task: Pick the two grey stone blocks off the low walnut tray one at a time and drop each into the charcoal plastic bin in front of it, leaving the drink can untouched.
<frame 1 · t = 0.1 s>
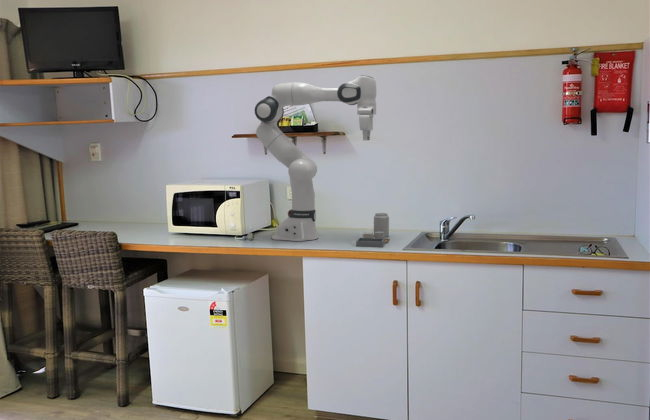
hand: (366, 140, 293), 48 cm above the counter, tool pointing down, fingers open, 8 cm apart
can: (381, 237, 308), on the counter
stone b: (379, 240, 296), resting on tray
bin: (370, 246, 283), on the counter
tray: (373, 242, 295), on the counter
stone a: (367, 241, 293), resting on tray
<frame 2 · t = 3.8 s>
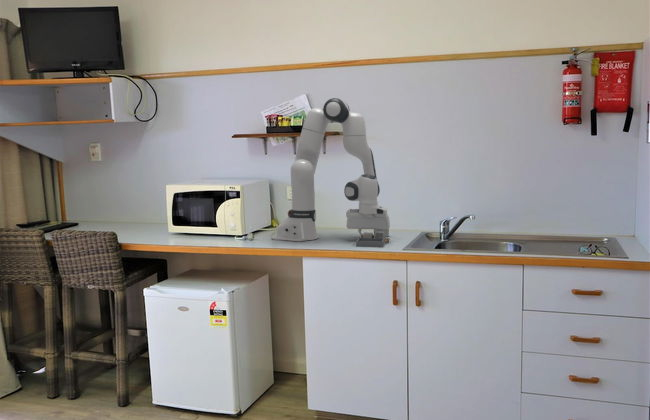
hand: (367, 238, 293), 2 cm above the counter, tool pointing down, fingers closed on stone a, 4 cm apart
stone a: (367, 241, 293), point 1 cm above the counter, touching gripper, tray
everything else where it was.
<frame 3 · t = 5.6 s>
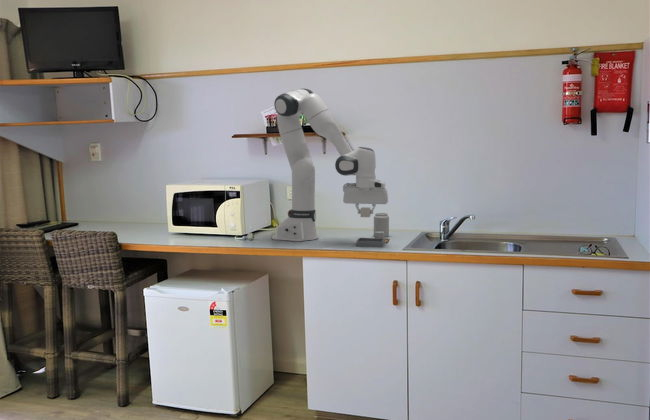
hand: (365, 213, 282), 15 cm above the counter, tool pointing down, fingers closed on stone a, 4 cm apart
stone a: (365, 216, 282), point 14 cm above the counter, touching gripper
everything else where it was.
when the fingers open (4 cm above the counter, at t = 7.9 s): stone a drops 2 cm, resting on bin.
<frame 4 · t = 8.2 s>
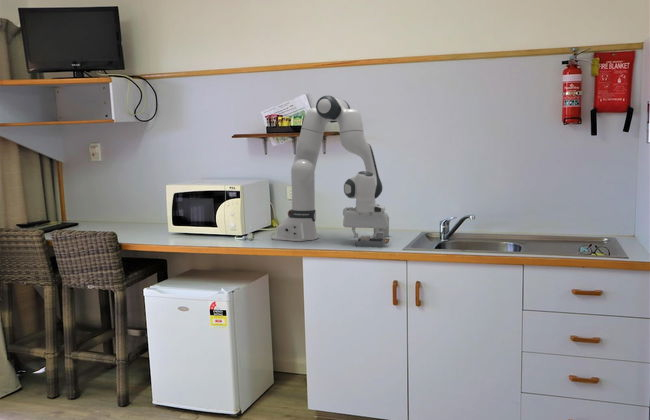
hand: (365, 237, 283), 4 cm above the counter, tool pointing down, fingers open, 7 cm apart
stone a: (365, 244, 284), resting on bin
everything else where it was.
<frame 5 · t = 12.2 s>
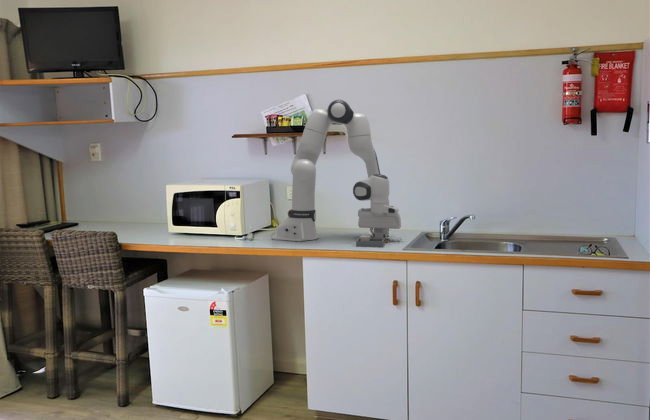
hand: (379, 237, 296), 2 cm above the counter, tool pointing down, fingers closed on stone b, 4 cm apart
stone b: (379, 240, 296), resting on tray, touching gripper
everything else where it was.
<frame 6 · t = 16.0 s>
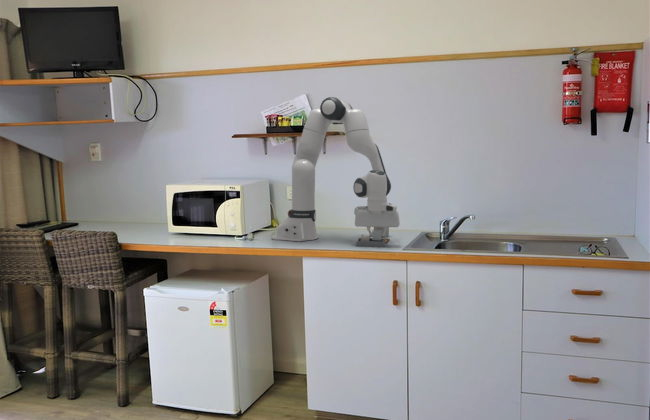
hand: (377, 236, 283), 4 cm above the counter, tool pointing down, fingers closed on stone b, 4 cm apart
stone b: (377, 239, 283), point 3 cm above the counter, touching gripper
stone a: (365, 244, 284), point 1 cm above the counter, touching bin, gripper
everything else where it was.
when the fingers open (4 cm above the counter, at t = 16.5 s): stone b drops 1 cm and tips over, resting on bin, stone a.
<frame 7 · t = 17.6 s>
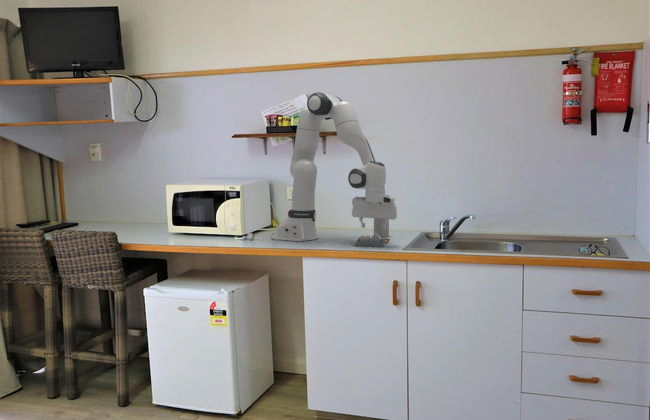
hand: (373, 228, 281), 9 cm above the counter, tool pointing down, fingers open, 8 cm apart
stone b: (378, 242, 283), point 2 cm above the counter, tilted 49°, touching bin, stone a
stone a: (364, 244, 284), point 1 cm above the counter, touching bin, stone b
everything else where it was.
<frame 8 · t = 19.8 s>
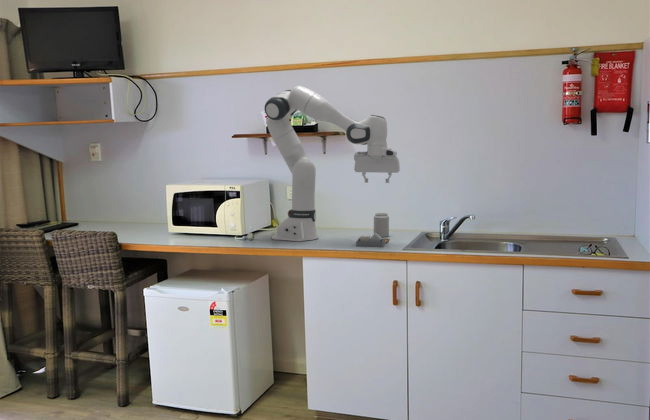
hand: (376, 182, 279), 29 cm above the counter, tool pointing down, fingers open, 8 cm apart
nothing on the counter moved.
at the end: stone a inside the target area on the bin (2.6 cm from its centre), point 0.5 cm above the bin's base; stone b inside the target area on the bin (3.7 cm from its centre), point 2.0 cm above the bin's base; the gripper is holding nothing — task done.
